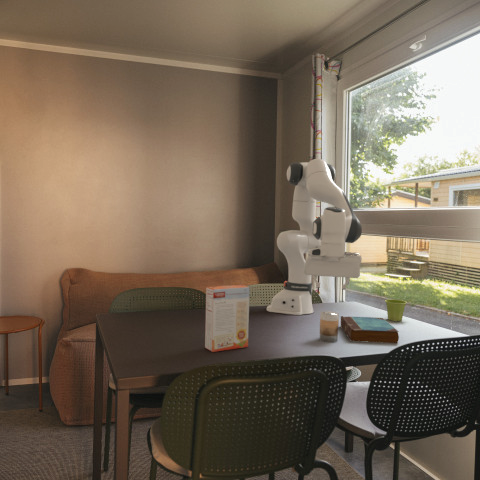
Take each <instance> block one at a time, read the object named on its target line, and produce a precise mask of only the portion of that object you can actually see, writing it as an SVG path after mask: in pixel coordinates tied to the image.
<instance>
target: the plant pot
mask: <svg viewBox="0 0 480 480" xmlns="http://www.w3.org/2000/svg"><path fill="white" fill-rule="evenodd" d="M384 302H385V304H386V313H387V319H388V320H390V321H392V322H402V321H403V317H404V311H405V307H406V305H407V301H405V300H402V299H401V300H400V299H385V300H384Z"/></svg>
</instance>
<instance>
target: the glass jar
mask: <svg viewBox="0 0 480 480" xmlns="http://www.w3.org/2000/svg"><path fill="white" fill-rule="evenodd" d="M339 320H340V319H339V313H338V312H336V311H330V310H329V311H328V310H326V311H320V318H319V337H318V339H319V340H320V341H321V342H324V343H336V342H338V336H339Z"/></svg>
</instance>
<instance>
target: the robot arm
mask: <svg viewBox="0 0 480 480" xmlns="http://www.w3.org/2000/svg"><path fill="white" fill-rule="evenodd" d="M336 176H337V175H336V169H335V166H333V165H332V164H329V163H327V162H326V161H325V160H324V159H321V158H314V159H312V160H310V161H308V162H307V161H306V162H303V161H302V162H299V161H295V162H291V163H290V164H289V165H288V167H287V170H286V179H287V182H288V183H289V185H291V186H295V187H294V192H293V198H292V199H293V200H292V211H291V213H292V214H291V216H292V219H293V221H295V222H297V223H298V225H299V230H297V229H296V230H294V229H291V230H285V231H281V232H280V233H279V234H278V236H277V238H276V246H277V248H278V250H279V251H280V252H281V253H282V254H283V255H284V257H285V259H286V261H287V266H288V279H287V280H285V281H284V282H283V289H281V290H280V291H279V292H278V293H276V294H275V295H273V297H272V299H271V303H270V305H267V306H266V311H267V312H270V313H278V314H286V315H295V316H300V315H309V314H313V313H314V308H313V304H312V303H313V301H312V294H313V282H312V279H313V281H314V282H315V288H316V289H320V288H321V282H318V277H331V278H332V277H334V278H345V282H344V284H343V283H342V284H341V290H347V285H348V284H349V282H350V280H351V279H358V278H359V277H361V270H360V269H361V268H360V265H361V264H362V259H363V258H362V255H361V254H360V253H358V252H351V251H350V252H349V251H346V243H347V244H354V243H355V242H357V241H358V240H359V239H361V236H362V233H363V232H362V229H363V227H362V224H361V222H360V220H359V219H358V217H357V215H356V214H355V211H354V210H353V208H352V205H351V203H350V201H349V200H348V196H347V195H346V193H345V191H344V190H343V188H341V187H339V186H338V185H337V184H336V183H335V180H336ZM317 202H321V203H325V204H328V205H331V206H328V207H325V208H324V210H323V213H322V215H321V216H318V217H316V216H317ZM305 254H308V256H307V257H306V259H305V256H304V255H305Z"/></svg>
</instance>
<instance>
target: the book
mask: <svg viewBox="0 0 480 480" xmlns="http://www.w3.org/2000/svg"><path fill="white" fill-rule="evenodd" d="M340 327H342V328H341V329H342V330H343V332H344V333H345V335H346V336H347V337H348V339H349V340H351V341H350V342H361V341H368V342H367V343H380V342H383V343H382V344H398V342H399V339H400V335H399V330H397V328H396V327H394V326H393V324H391V323H390V322H388V321H387V320H386V319H385V318H383V317H371V316H365V317H364V316H343V315H341V316H340Z"/></svg>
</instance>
